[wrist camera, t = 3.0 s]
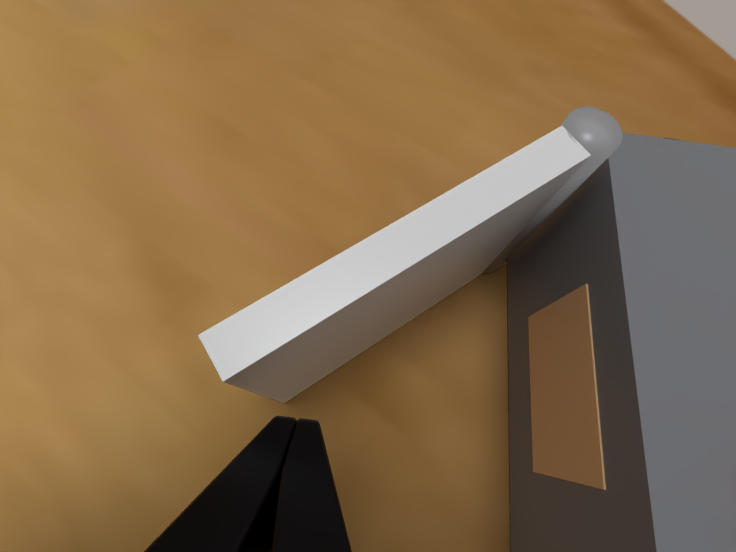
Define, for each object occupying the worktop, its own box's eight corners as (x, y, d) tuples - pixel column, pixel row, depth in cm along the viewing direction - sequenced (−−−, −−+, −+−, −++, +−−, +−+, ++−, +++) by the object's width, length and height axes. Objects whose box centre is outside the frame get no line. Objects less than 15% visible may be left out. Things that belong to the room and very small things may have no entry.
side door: (287, 408, 15) (228, 391, 7) (264, 368, 15) (186, 313, 7) (506, 263, 17) (634, 138, 10) (481, 232, 18) (585, 90, 10)
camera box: (686, 584, 13) (1080, 768, 6) (509, 564, 13) (702, 727, 6) (637, 233, 18) (829, 108, 11) (505, 216, 18) (612, 79, 11)
